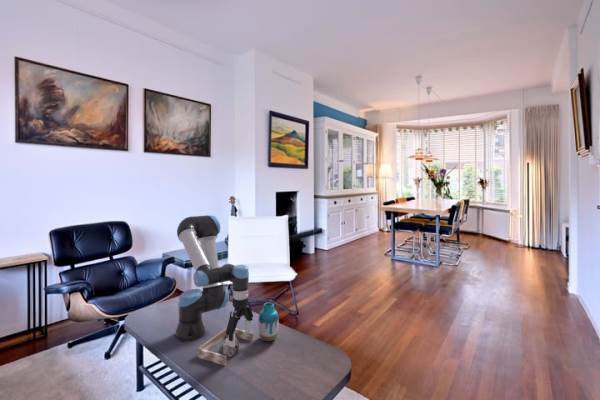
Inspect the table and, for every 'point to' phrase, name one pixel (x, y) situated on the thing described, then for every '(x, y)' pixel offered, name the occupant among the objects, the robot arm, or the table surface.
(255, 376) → the table surface
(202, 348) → the u-shaped wooden frame
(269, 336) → the vase
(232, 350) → the mineral rock
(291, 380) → the table surface
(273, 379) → the table surface
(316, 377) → the table surface
